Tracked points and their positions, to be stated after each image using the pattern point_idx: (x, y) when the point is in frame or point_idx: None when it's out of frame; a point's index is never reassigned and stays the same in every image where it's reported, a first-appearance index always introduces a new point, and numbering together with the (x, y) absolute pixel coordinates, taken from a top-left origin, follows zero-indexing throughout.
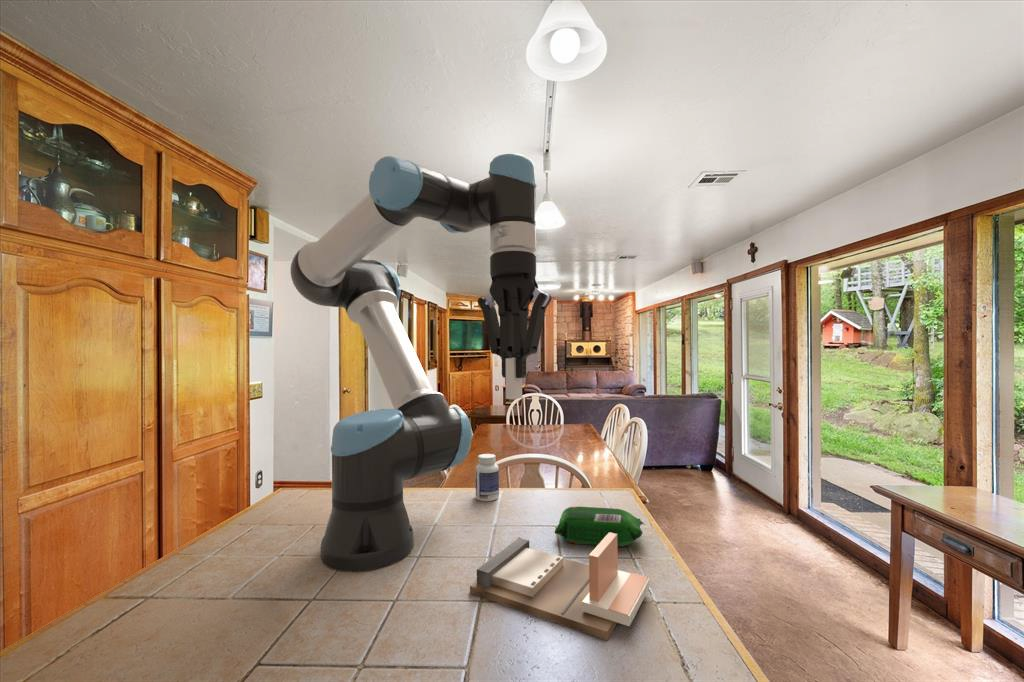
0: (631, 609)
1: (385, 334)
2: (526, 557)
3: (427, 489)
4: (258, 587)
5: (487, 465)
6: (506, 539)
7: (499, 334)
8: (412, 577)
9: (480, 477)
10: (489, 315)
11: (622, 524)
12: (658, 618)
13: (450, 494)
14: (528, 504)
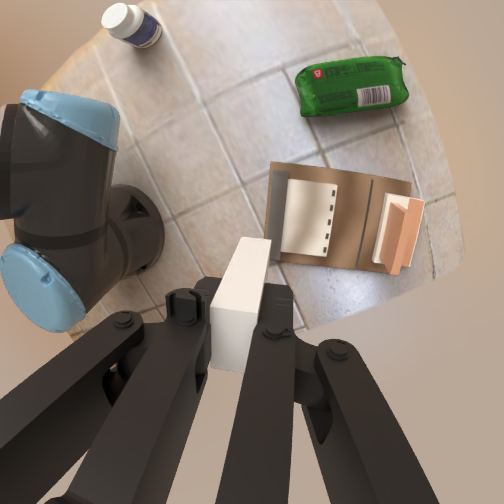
0: (411, 257)
1: None
2: (298, 202)
3: (67, 64)
4: (113, 307)
5: (126, 26)
6: (238, 134)
7: (85, 397)
8: (197, 254)
9: (127, 40)
10: (38, 497)
11: (393, 104)
12: (424, 229)
13: (98, 55)
14: (212, 20)
